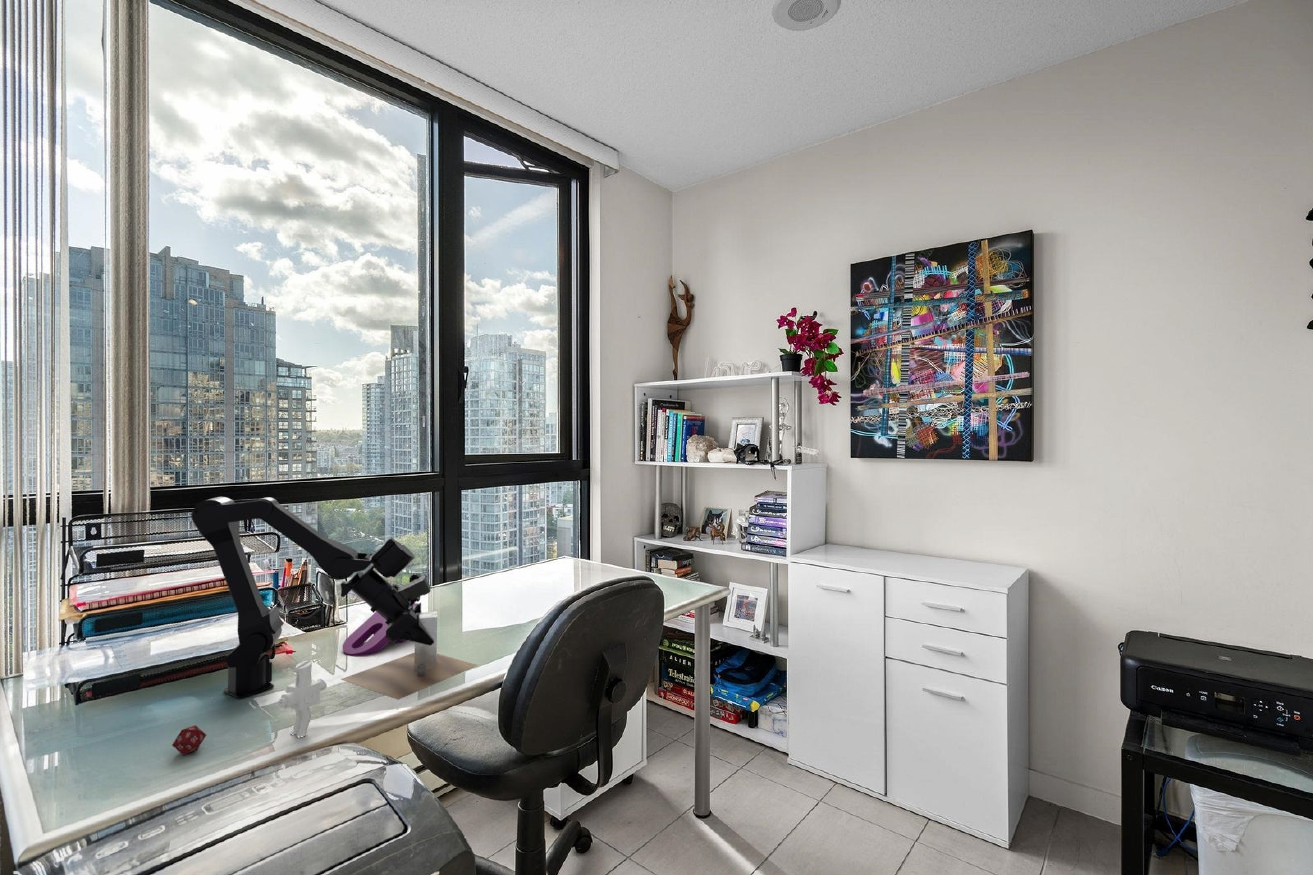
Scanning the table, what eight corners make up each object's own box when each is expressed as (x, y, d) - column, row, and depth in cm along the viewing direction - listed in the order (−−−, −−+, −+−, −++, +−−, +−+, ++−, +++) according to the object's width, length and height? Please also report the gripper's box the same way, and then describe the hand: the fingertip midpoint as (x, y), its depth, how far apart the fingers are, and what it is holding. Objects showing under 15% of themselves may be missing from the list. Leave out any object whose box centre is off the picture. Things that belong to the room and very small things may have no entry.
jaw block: (414, 670, 127) (415, 618, 127) (415, 662, 131) (416, 612, 131) (436, 667, 129) (436, 617, 129) (436, 660, 133) (437, 611, 133)
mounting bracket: (376, 684, 137) (428, 629, 152) (363, 656, 133) (418, 603, 148) (346, 677, 140) (400, 624, 155) (333, 650, 137) (390, 598, 152)
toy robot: (331, 725, 105) (332, 657, 105) (288, 745, 98) (289, 672, 98) (316, 720, 107) (317, 653, 107) (273, 740, 100) (274, 668, 100)
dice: (209, 751, 96) (209, 726, 96) (174, 762, 93) (174, 736, 93) (203, 743, 99) (203, 718, 99) (169, 753, 95) (169, 728, 95)
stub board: (397, 705, 113) (398, 682, 113) (340, 684, 122) (341, 663, 122) (477, 670, 130) (477, 650, 130) (422, 654, 139) (422, 635, 139)
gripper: (404, 574, 120) (461, 624, 123) (410, 556, 137) (460, 600, 141) (360, 617, 117) (420, 666, 121) (372, 593, 135) (423, 637, 138)
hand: (432, 640), depth 130 cm, fingers closed on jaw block, 4 cm apart
